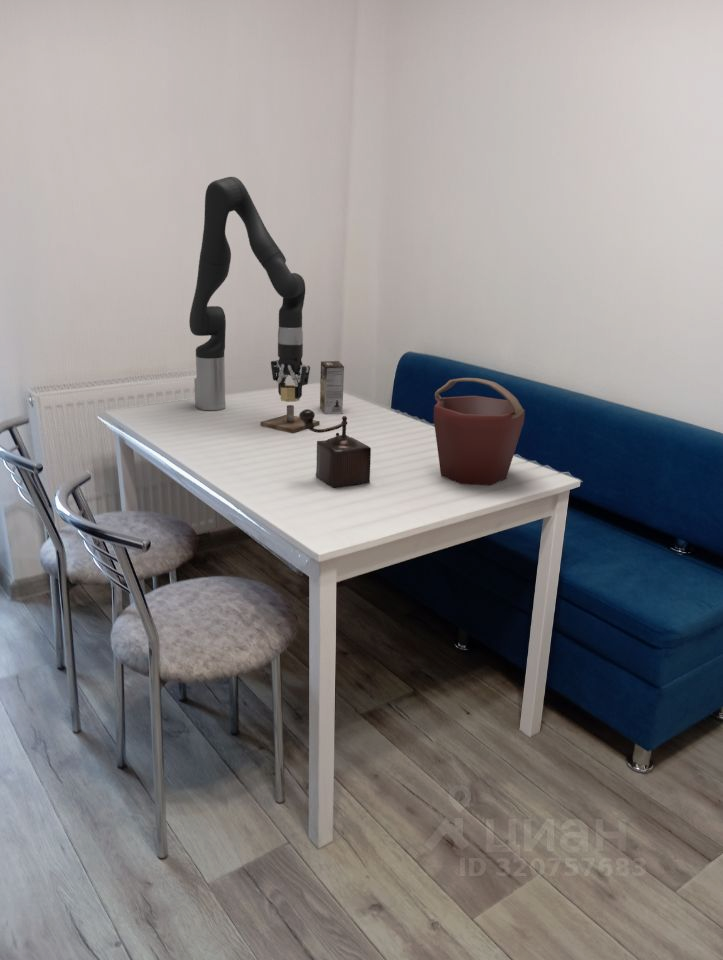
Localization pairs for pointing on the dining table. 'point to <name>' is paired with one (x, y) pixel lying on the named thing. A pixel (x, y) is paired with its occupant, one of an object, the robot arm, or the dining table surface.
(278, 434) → the dining table surface
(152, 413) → the dining table surface
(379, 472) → the dining table surface
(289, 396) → the gold octagonal ring
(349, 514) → the dining table surface
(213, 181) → the robot arm
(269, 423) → the post stand
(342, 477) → the manual coffee grinder
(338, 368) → the coffee box
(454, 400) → the bucket
